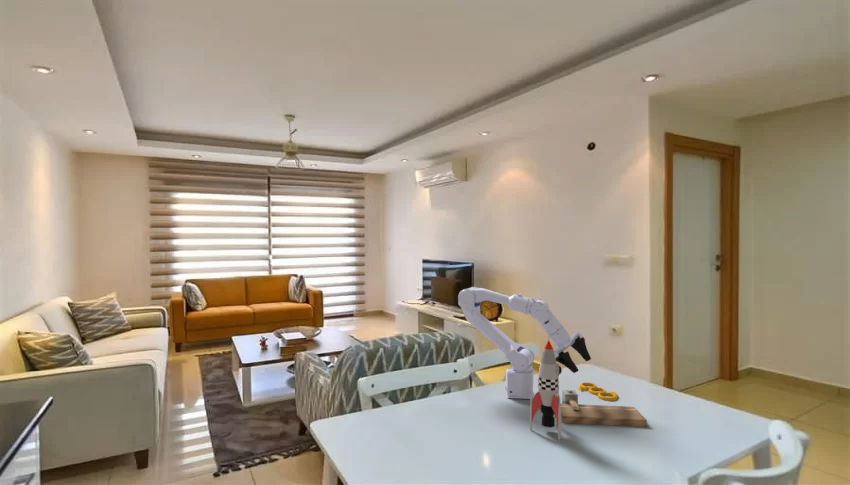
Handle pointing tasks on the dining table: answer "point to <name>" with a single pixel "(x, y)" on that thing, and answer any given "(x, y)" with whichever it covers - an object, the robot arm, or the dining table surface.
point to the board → (602, 415)
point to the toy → (547, 390)
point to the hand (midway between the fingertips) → (582, 365)
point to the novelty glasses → (600, 394)
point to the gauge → (570, 398)
